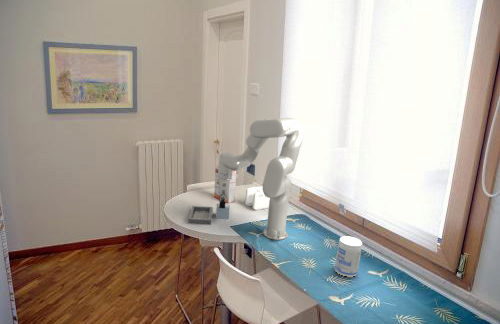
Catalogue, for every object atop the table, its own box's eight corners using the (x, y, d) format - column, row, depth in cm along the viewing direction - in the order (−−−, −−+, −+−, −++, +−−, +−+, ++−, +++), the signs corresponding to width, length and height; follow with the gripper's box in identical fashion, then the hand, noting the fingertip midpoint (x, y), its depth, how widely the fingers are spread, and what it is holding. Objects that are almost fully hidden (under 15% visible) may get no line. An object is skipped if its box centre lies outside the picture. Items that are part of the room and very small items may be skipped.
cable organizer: (264, 202, 237) (266, 185, 234) (274, 208, 228) (276, 190, 225) (244, 205, 228) (246, 187, 226) (254, 211, 220) (255, 193, 217)
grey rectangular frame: (210, 224, 196) (211, 220, 195) (188, 223, 195) (188, 219, 195) (212, 211, 215) (212, 206, 215) (191, 209, 215) (191, 205, 214)
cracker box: (213, 197, 239) (215, 166, 234) (220, 195, 243) (222, 165, 238) (227, 203, 229) (229, 171, 225) (234, 202, 234) (237, 170, 229)
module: (228, 219, 205) (229, 207, 203) (216, 218, 204) (216, 206, 203) (228, 216, 210) (229, 204, 208) (216, 215, 209) (217, 203, 208)
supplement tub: (332, 274, 155) (336, 242, 152) (336, 264, 164) (341, 233, 160) (355, 280, 151) (361, 248, 148) (359, 270, 160) (364, 239, 157)
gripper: (231, 180, 194) (228, 211, 198) (231, 171, 210) (228, 199, 215) (217, 179, 193) (214, 210, 197) (218, 170, 210) (216, 198, 214)
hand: (222, 204), depth 206 cm, fingers open, 9 cm apart
